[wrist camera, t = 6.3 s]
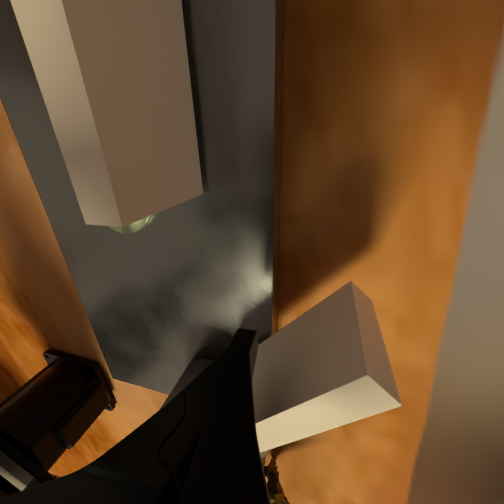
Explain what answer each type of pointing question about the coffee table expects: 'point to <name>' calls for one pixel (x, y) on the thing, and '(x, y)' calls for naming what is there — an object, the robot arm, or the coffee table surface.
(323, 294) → the coffee table surface
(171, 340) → the plate
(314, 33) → the coffee table surface
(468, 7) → the coffee table surface
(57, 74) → the knob
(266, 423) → the knob
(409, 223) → the coffee table surface
